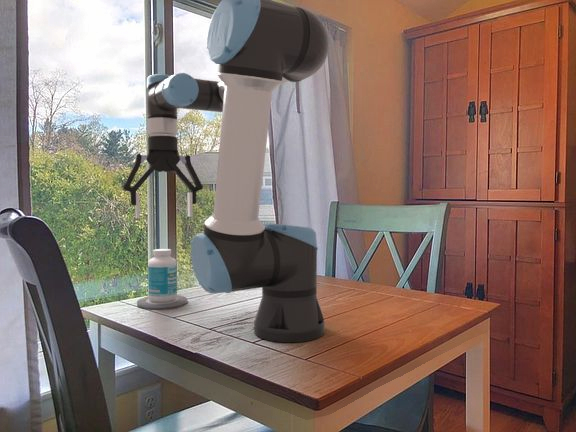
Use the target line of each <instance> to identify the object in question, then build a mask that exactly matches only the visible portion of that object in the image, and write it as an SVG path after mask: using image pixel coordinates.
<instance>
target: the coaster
mask: <svg viewBox="0 0 576 432" xmlns="http://www.w3.org/2000/svg"><path fill="white" fill-rule="evenodd" d="M187 303H188V298H187V297H186V296H183V295H179V294H177V298H176V299H175V300H173V301H169V302H152V301H150V300H149V297H148V296H146V297H141V298H140V299H138V300H137V301H136V306H137V307H138V308H139V309H145V310H167V309H169V310H170V309H174V308H179V307H183V306H186V304H187Z"/></svg>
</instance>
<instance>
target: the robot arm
mask: <svg viewBox="0 0 576 432" xmlns="http://www.w3.org/2000/svg"><path fill="white" fill-rule="evenodd" d="M329 43H330V41H329V35H328V31H327V29H326V27H325V25H324V23H323V22H322V20H321V19H320V18H319V17H318V16H317V15H316V14H314V13H313V12H312V11H310V10H309V9H306V8H302V7H300V6H299V7H298V6H293V5H290V4H286V3H283V2H280V1H276V0H221V1H220V2H219V3H218V5H217V7H216V8H215V9H214V12H213V14H212V16H211V19H210V23H209V26H208V30H207V36H206V49H207V55H208V57H209V59H210V61H212V62H213V63H214V64H216V65H217V72H216V74H217V77H218V78H219V79H220V80H219V81H216V80H209V79H200V78H194V77H193V76H191V75H190V74H188V73H185V72H179V73H174V74H165V73H155V74H151V75H149V76H147V78H146V88H145V90H146V104H147V105H146V108H147V110H146V111H147V112H146V113H147V114H146V115H147V134H148V135H149V136H148V138H147V155H144V154H141V153H138V154H136V155H135V159H134V164H133V166H132V169H131V170H130V172H129V175H128V176H127V178H126V180H125V183H124V185H123V187H122V189H123V190H124V191H127V192H129V193H130V205H131V206H134V207H135V211H134V212H135V213H134V214H135V219H140V218H141V215H140V213H141V211H140V192H137V191H138V190H139V188H141V186H142V185H143V184H144V183H145V181H146V180H148V178H149V177H151V176H150V175H152V174H153V172H156V173H159V172H160V173H162V172H163V173H164V172H165V173H171V172H173V173H174V174H175V176H176V177H177V178H178V179H179V180H180V181H181V182H182V183H183V185H184V186H185V187H186V188H187V189H188V190H189V192H187V195H186V196H187V217H189V218H193V216H194V215H193V213H194V212H193V205H196V204H197V192H198V191H201V190H203V189H204V187H203V185H202V183H201V181H200V178H199V177H198V175H197V172H196V170H195V168H194V167H193V164H192V161H191V155H189V154H186V155H183V156H182V155H181V156H180V155H179V153H178V152H179V147H178V146H179V143H178V139H179V138H178V137H177V135H178V109H183V110H194V111H203V112H204V111H206V112H215V113H216V112H217V113H221V124H220V127H221V128H220V135H219V149H218V159H217V161H218V162H217V170H216V182H215V183H216V184H215V194H214V205H213V213H212V214H211V215H210V216H209V217H208V218H207V219H205V220H204V223H203V224H204V227H203V233H202V232H200V233H198V234H195V235H194V236H193V238H192V239H191V244H190V259H191V260H190V261H191V266H192V269H193V272H194V275H195V278H196V280H197V281H198V284H199V285H200V287H201V288H202V289H203V290H204V291H205V292H207V293H209V294H223V293H225V294H230V293H232V292H233V293H234V292H241V291H248V290H255V289H260V288H262V289H261V291H262V293H261V299H260V303H259V305H258V309H257V312H256V315H255V319H254V323H253V324H254V326H253V327H254V328H253V329H254V331H253V332H254V335H255V336H256V337H258V338H260V339H263V340H266V341H271V342H278V343H300V342H301V343H302V342H308V341H313V340H316V339H319V338H320V337H322V336H324V335H325V333H326V328H325V327H326V322H325V318H324V314H323V313H322V312H323V311H322V309H321V306H320V303H319V300H318V296H317V294H318V292H317V287H318V284H317V283H318V281H317V279H318V278H317V272H318V270H317V269H318V268H317V266H318V264H317V263H318V262H317V261H318V259H317V258H318V257H317V255H318V248H319V247H318V242H317V233H316V231H315V229H313V228H312V227H309V226H307V227H306V226H299V225H289V224H283V223H282V224H280V223H271V222H264V223H262V221H261V219H260V218H259V214H260V213H259V212H260V205H261V196H262V195H261V194H262V187H263V179H264V171H265V170H264V169H265V159H266V151H267V143H268V135H269V134H268V133H269V124H270V117H271V116H270V115H271V107H272V98H273V92H274V90H275V89H276V88H278V87H279V86H281V85H284V84H286V83H288V82H289V83H298V82H301V81H303V80H306V79H308V78H310V77H311V76H313V75H314V74H316V73H317V72H318V71H320V69H321V68H322V67H323V65H324V63H325V62H326V60H327V57H328V53H329V48H330V47H329ZM145 161H147V163H148V164H149V167H148V168H147V169H146V170H145V171H144V172H143V174H142V175H141V176H140V177H139V179H138V180H137V181H136V182H135V183H134V184H133V186H131V185H132V182H133V180H134V178H135V176H136V175H137V172H138V170H139V169H140V167H141V164H144V163H145ZM179 162H181V163H182V164H183V165H184V166H185V168H186V170H187V172H188V174H189V177H190V178H191V180H192V182H193V183H192V182H191V181H190V179H188V177H187V176H186V175H185V174H184V173H183V172H182V170H181V169H180V168H179V166H178V164H179Z"/></svg>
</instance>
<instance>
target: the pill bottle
mask: <svg viewBox="0 0 576 432" xmlns="http://www.w3.org/2000/svg"><path fill="white" fill-rule="evenodd" d="M152 255H153V257H152V258H150V259H149V260H148V263H147V284H148V285H147V287H148V289H147V291H148V292H147V293H148V296H147V297H149V300H150V301H152V302H169V301H173V300H175V299H176V298H177V295H178V285H177V284H178V277H177V273H178V272H177V271H178V270H177V269H178V268H177V265H178V264H177V260H176V259H175V258H174V257H171V255H172V249H171V248H157V249H156V248H155V249H153V250H152Z"/></svg>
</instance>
